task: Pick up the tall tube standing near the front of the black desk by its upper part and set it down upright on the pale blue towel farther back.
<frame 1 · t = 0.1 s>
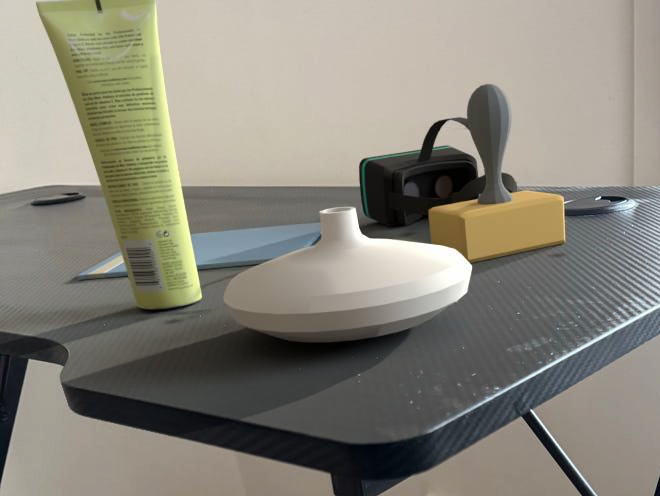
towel: (213, 250, 90), on the table
tube: (174, 306, 71), on the table
vase: (356, 331, 60), on the table
virtual reality headset: (451, 224, 92), on the table
rubber stamp: (499, 252, 78), on the table
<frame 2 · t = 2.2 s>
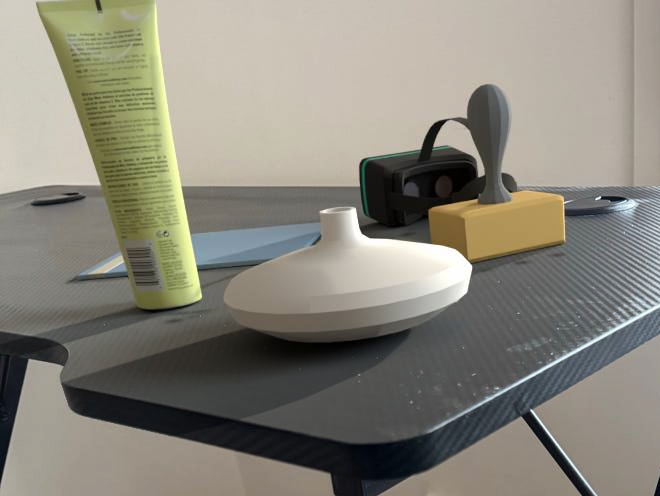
nothing on the table moved.
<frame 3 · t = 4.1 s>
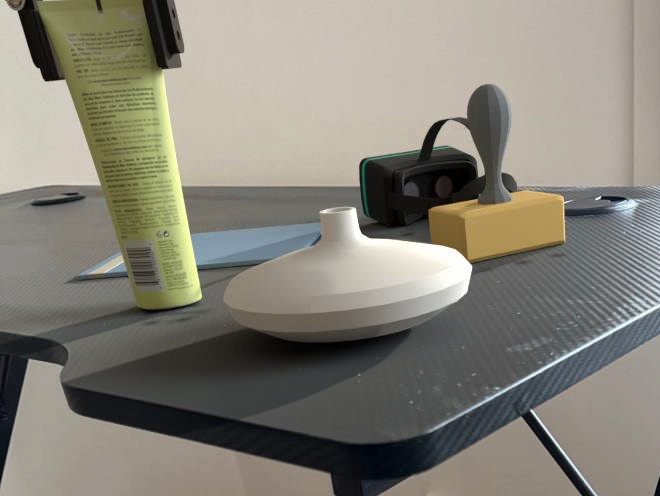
hand: (113, 72, 63), 15 cm above the table, tool pointing down, fingers closed on tube, 7 cm apart
tube: (174, 306, 71), on the table, touching gripper
everything else where it was.
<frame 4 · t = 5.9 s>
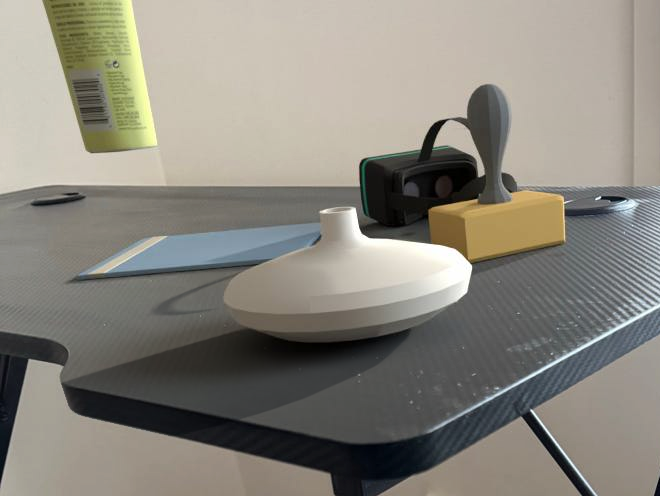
tube: (127, 153, 66), point 10 cm above the table, touching gripper
everything else where it was.
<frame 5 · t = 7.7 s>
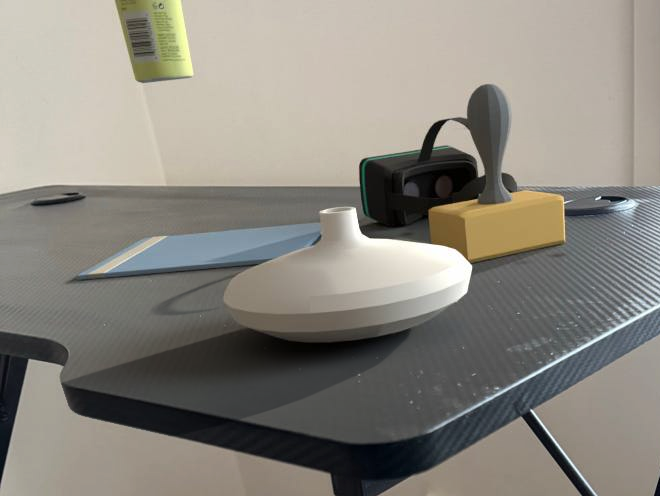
tube: (168, 83, 80), point 14 cm above the table, touching gripper
everything else where it was.
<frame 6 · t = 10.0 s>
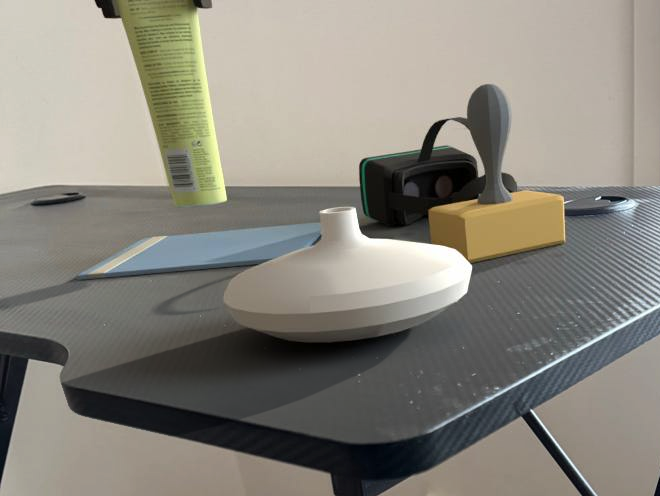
hand: (158, 11, 79), 19 cm above the table, tool pointing down, fingers closed on tube, 7 cm apart
tube: (204, 207, 88), point 4 cm above the table, touching gripper
everything else where it was.
when the fingers open (16 cm above the table, at t = 11.6 s): tube stays where it is, resting on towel.
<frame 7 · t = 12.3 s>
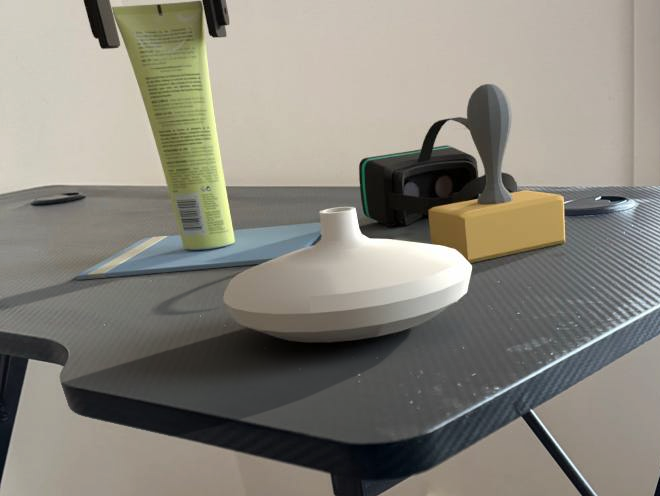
hand: (164, 42, 80), 17 cm above the table, tool pointing down, fingers open, 9 cm apart
tube: (212, 248, 90), resting on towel
everything else where it was.
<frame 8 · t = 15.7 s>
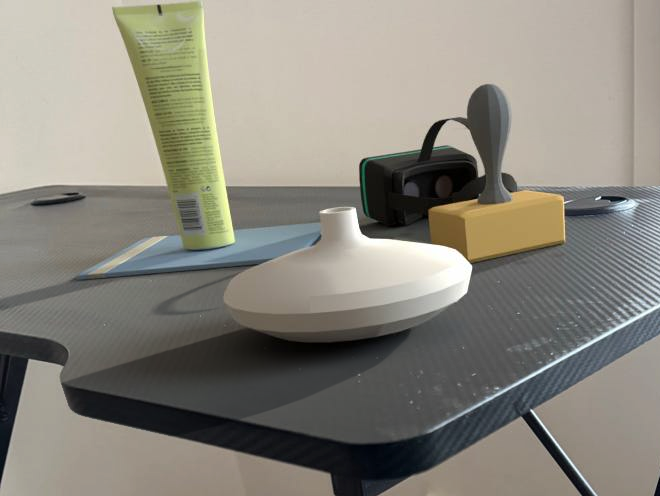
nothing on the table moved.
at the end: tube inside the target area on the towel (0.0 cm from its centre), point 0.2 cm above the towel's base; tube tilted 0°; the gripper is holding nothing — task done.
